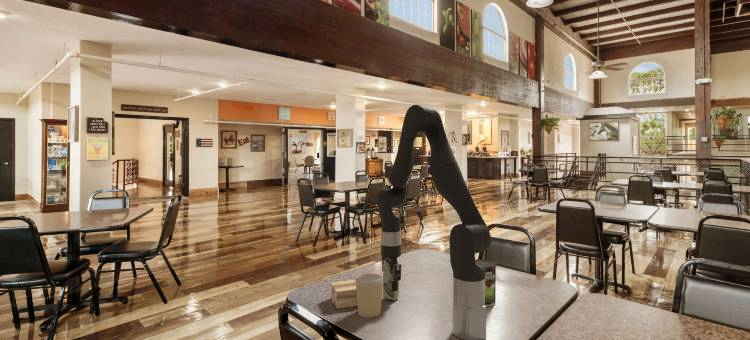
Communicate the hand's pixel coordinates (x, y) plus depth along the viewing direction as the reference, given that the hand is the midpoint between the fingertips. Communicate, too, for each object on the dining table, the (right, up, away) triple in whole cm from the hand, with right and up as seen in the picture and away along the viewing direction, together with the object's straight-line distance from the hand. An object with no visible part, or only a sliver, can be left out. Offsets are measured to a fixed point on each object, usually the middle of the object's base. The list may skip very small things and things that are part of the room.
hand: (391, 287), depth 140 cm
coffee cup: (-8, -5, -11) cm, 15 cm away
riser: (-16, -4, -2) cm, 17 cm away
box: (0, -4, 0) cm, 4 cm away
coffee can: (+32, -4, -2) cm, 33 cm away
